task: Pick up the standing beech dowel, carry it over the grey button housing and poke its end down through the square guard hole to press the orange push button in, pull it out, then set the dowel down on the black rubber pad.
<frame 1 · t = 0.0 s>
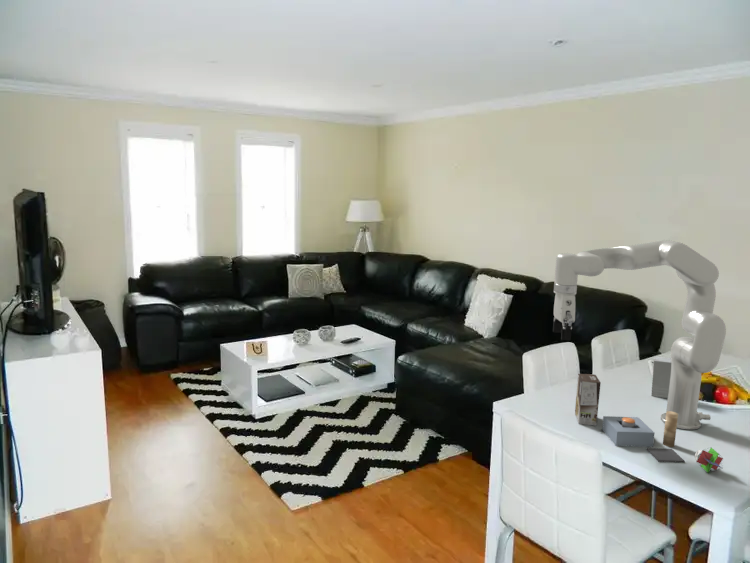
hand: (561, 336, 193), 31 cm above the table, fingers open, 9 cm apart
orange push button: (628, 425, 183), point 5 cm above the table, slide at 0.0 cm
coffee box: (585, 420, 198), on the table
skincare box: (662, 396, 223), on the table
beech dowel: (668, 444, 180), on the table
rubber pad: (665, 455, 172), on the table
geometric puzzle: (708, 470, 164), on the table
grey button housing: (626, 438, 184), on the table
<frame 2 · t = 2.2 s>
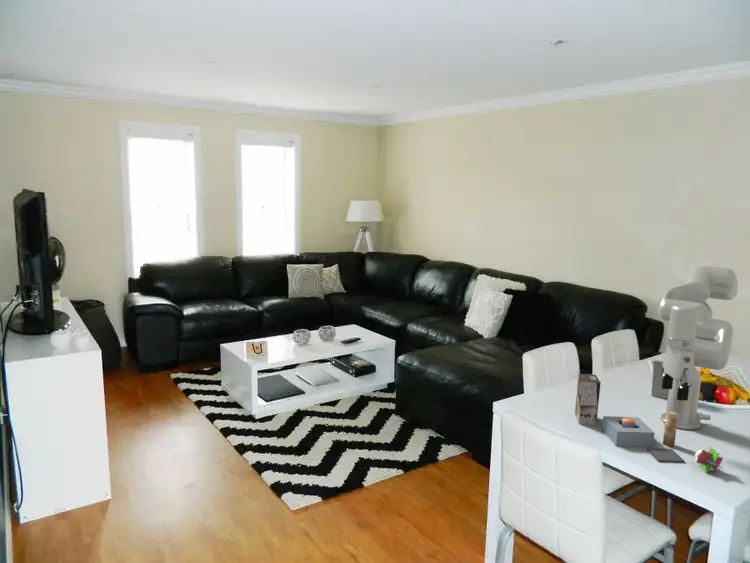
hand: (674, 394, 177), 18 cm above the table, fingers open, 9 cm apart
nothing on the table moved.
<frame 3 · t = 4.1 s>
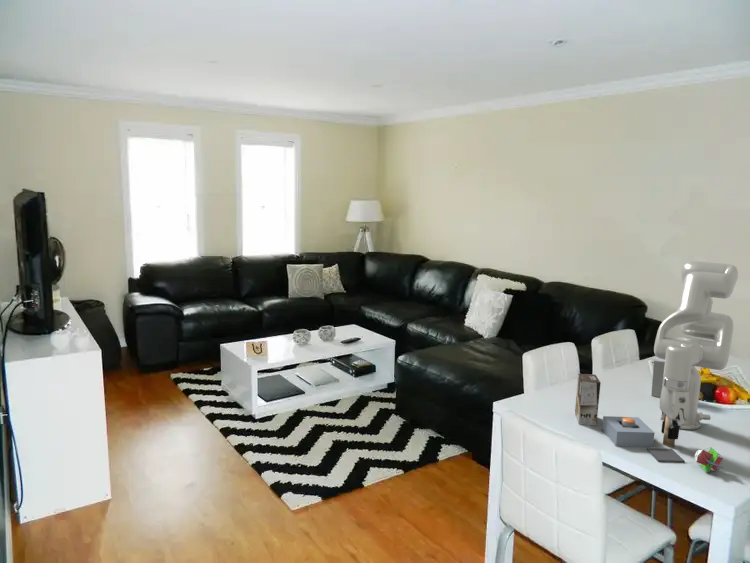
hand: (669, 435, 179), 3 cm above the table, fingers closed on beech dowel, 3 cm apart
beech dowel: (668, 444, 180), on the table, touching gripper
everything else where it was.
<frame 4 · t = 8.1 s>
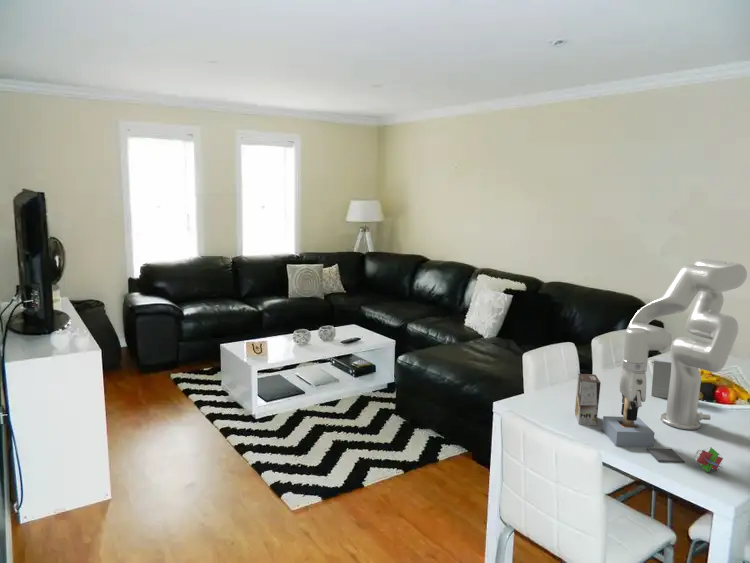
hand: (628, 417, 183), 8 cm above the table, fingers closed on beech dowel, 3 cm apart
orange push button: (627, 431, 184), point 2 cm above the table, slide at 2.3 cm, touching beech dowel
beech dowel: (627, 426, 184), point 4 cm above the table, touching gripper, orange push button
everything else where it was.
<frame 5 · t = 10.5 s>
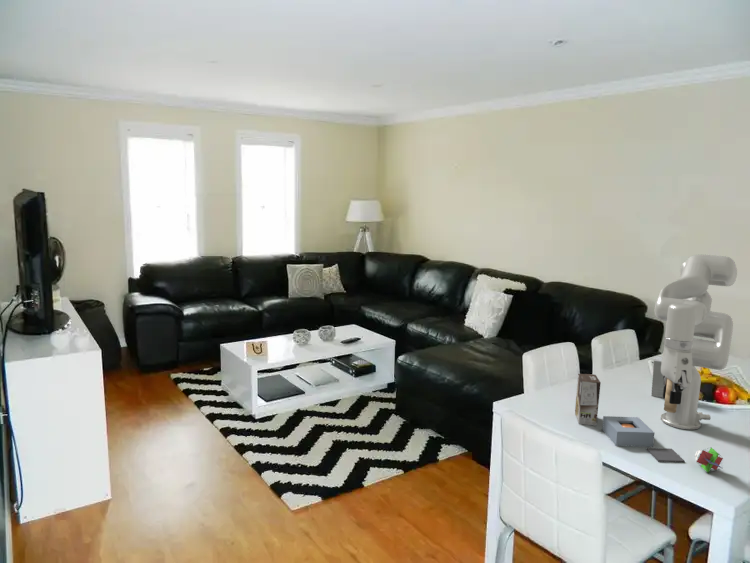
hand: (671, 400, 169), 19 cm above the table, fingers closed on beech dowel, 3 cm apart
orange push button: (627, 431, 184), point 2 cm above the table, slide at 2.3 cm
beech dowel: (669, 410, 169), point 15 cm above the table, touching gripper
everything else where it was.
when the fingers open (5 cm above the table, at t = 12.7 s): beech dowel drops 1 cm, resting on rubber pad.
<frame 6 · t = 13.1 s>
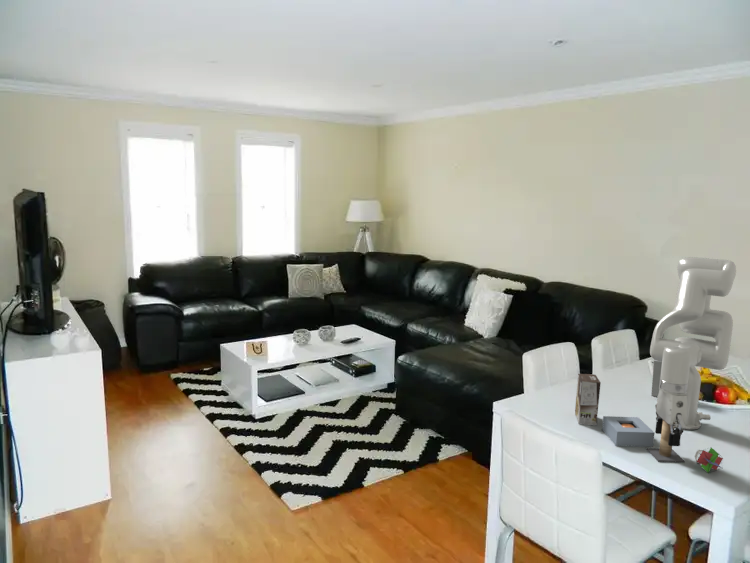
hand: (667, 439, 171), 6 cm above the table, fingers open, 7 cm apart
beech dowel: (664, 454, 172), point 1 cm above the table, touching rubber pad
everything else where it was.
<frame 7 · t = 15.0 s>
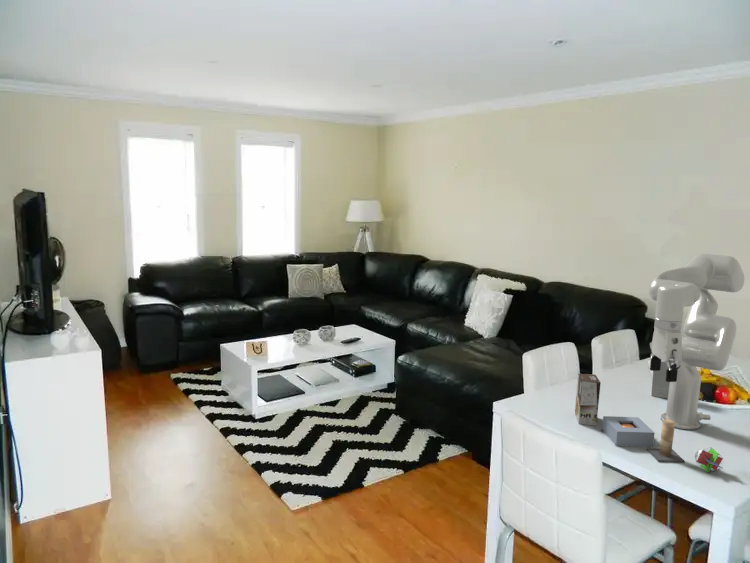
hand: (662, 375, 174), 24 cm above the table, fingers open, 9 cm apart
nothing on the table moved.
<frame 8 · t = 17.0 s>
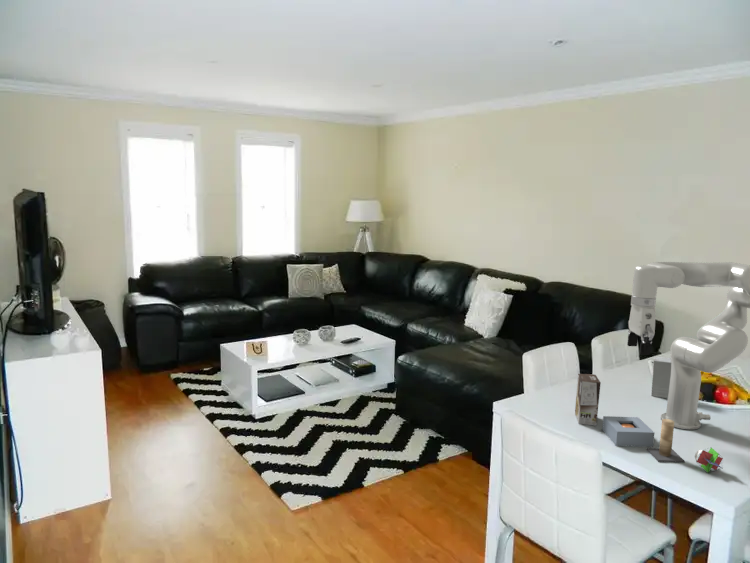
hand: (638, 350, 188), 28 cm above the table, fingers open, 9 cm apart
nothing on the table moved.
at the end: orange push button slide at 2.3 cm; beech dowel 0.1 cm from the rubber pad (horizontally); the gripper is holding nothing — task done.
